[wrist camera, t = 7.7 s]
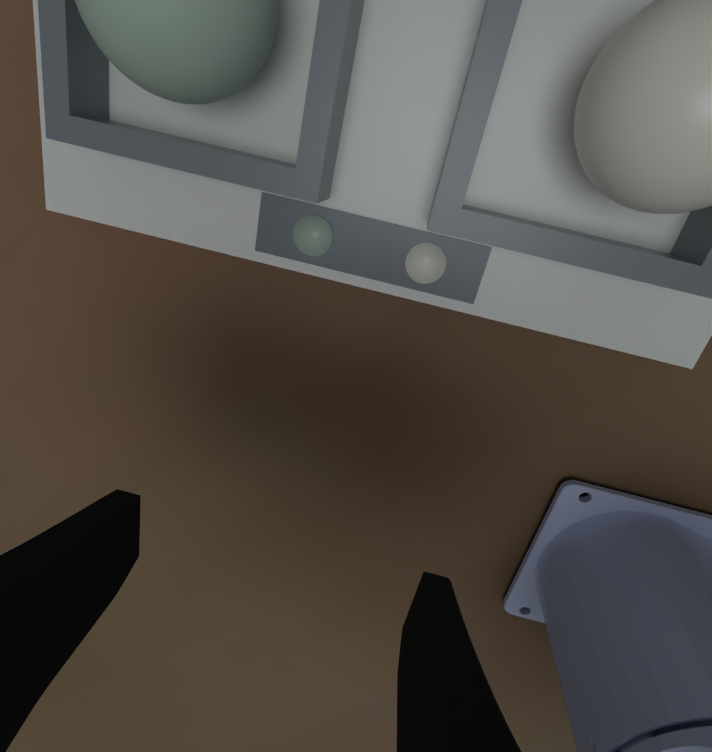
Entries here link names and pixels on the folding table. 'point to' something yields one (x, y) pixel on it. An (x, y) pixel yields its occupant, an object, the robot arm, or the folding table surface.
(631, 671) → the robot arm
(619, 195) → the ivory ball
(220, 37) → the sage ball
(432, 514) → the folding table surface
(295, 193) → the ball sorting tray
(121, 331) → the folding table surface
